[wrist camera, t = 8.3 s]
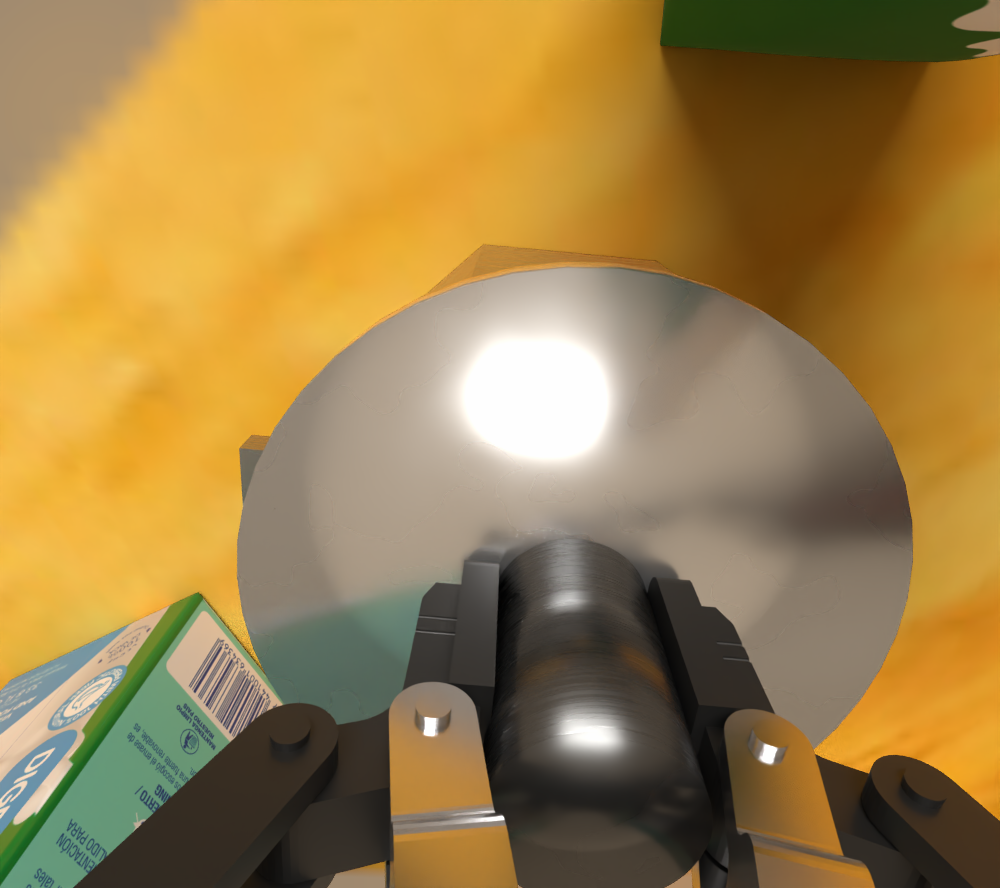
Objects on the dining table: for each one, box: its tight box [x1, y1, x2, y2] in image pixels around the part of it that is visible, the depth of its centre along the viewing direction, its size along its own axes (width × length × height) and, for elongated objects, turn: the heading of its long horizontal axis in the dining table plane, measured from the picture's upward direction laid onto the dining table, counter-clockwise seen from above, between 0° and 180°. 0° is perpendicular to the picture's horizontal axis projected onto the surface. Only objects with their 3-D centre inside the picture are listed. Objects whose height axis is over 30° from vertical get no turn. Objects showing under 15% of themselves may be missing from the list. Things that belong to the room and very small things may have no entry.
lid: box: [237, 262, 913, 888], centre depth 12 cm, size 14×14×6 cm
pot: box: [239, 245, 674, 503], centre depth 19 cm, size 15×12×7 cm
